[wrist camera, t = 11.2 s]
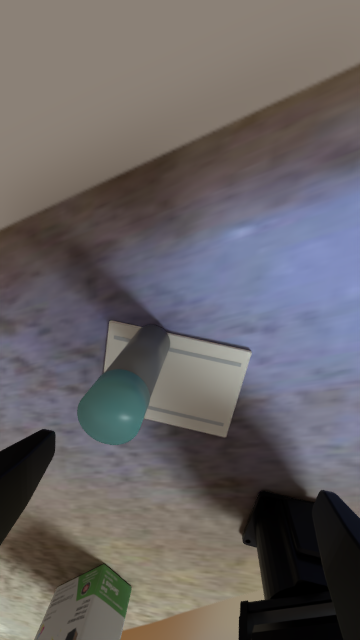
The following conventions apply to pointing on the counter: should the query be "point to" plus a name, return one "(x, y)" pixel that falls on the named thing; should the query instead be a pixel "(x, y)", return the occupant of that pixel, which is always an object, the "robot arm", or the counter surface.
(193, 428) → the paper
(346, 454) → the counter surface
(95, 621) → the ink box
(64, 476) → the counter surface
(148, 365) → the marker
